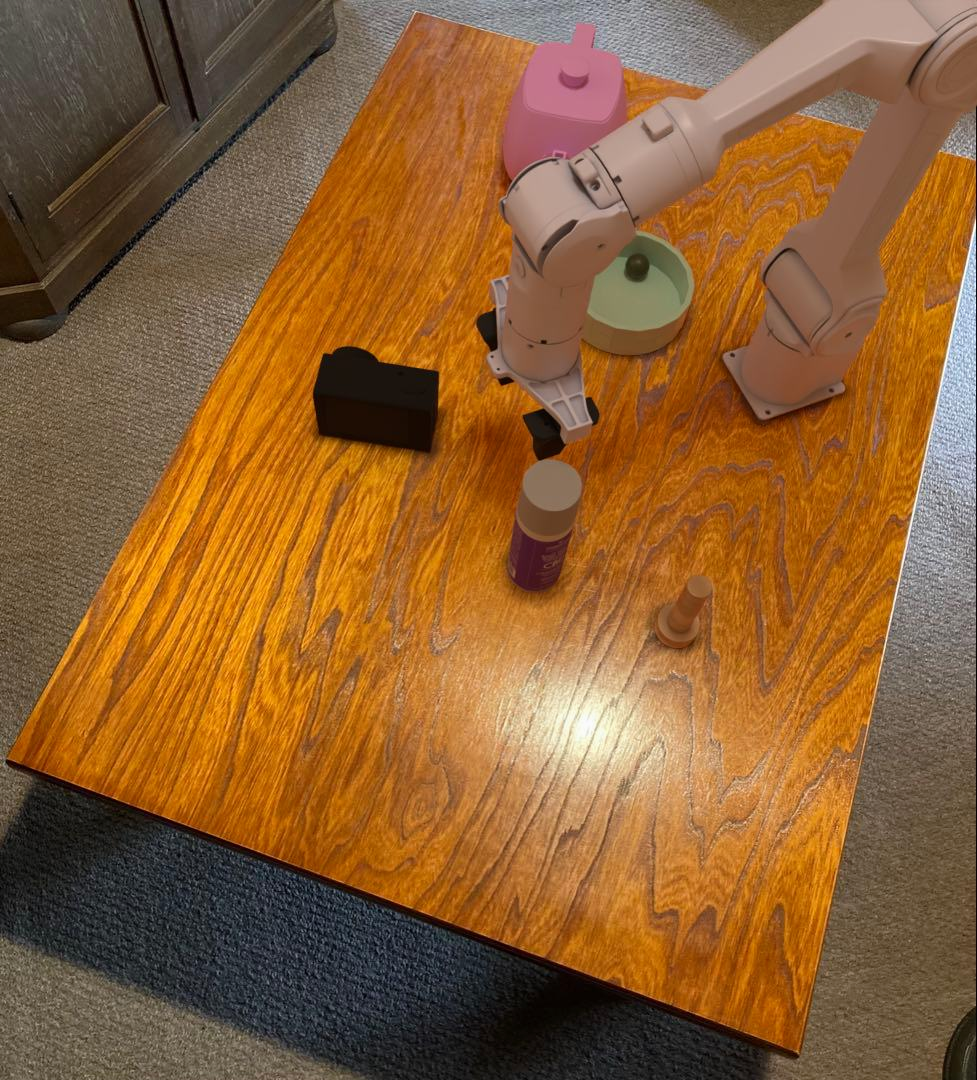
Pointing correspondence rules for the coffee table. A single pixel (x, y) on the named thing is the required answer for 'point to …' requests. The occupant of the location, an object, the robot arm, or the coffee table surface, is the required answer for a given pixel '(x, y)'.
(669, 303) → the bowl
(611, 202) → the robot arm
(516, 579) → the container
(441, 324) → the coffee table surface
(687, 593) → the brown piece
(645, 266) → the olive
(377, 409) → the digital camera
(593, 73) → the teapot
